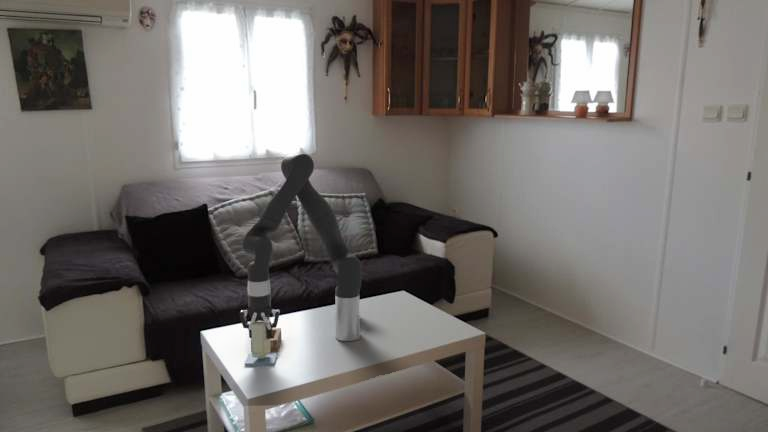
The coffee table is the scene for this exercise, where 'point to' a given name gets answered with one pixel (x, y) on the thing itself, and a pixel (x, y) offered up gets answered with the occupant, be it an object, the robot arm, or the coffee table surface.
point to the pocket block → (274, 340)
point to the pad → (261, 360)
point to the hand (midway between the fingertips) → (260, 338)
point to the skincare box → (260, 340)
